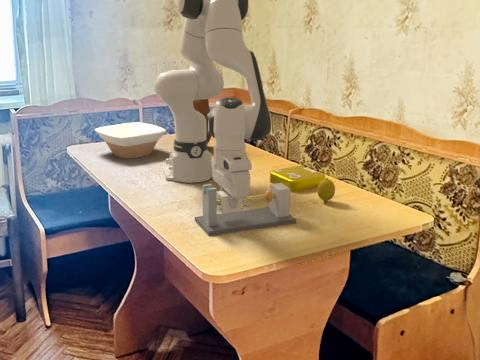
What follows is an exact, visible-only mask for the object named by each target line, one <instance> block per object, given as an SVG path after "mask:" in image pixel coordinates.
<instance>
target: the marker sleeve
mask: <svg viewBox="0 0 480 360" xmlns="http://www.w3.org/2000/svg"><path fill="white" fill-rule="evenodd" d="M216 191H217V200H221V205H217V211H219V212H220V213H231V212H238V211H243V204H242V200H243V198H242V199H239V200H238V206H237V208H234V209H232V208H231V207H230V201H231V198H232V197H231V194H230V193H229V192H227V191H226V190H225V191H221V190H216Z"/></svg>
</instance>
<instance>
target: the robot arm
mask: <svg viewBox="0 0 480 360" xmlns="http://www.w3.org/2000/svg"><path fill="white" fill-rule="evenodd" d="M177 7H178V12H179V13H180V14H181V16H182V17H183V18H184V22H183V26H182V33H181V39H180V43H179V44H180V45H179V46H180V47H179V50H180V51H179V52H180V53H181V55H182V57H183V58H185V60H187V61H188V62H190V65H189V68H185V69H183V68H182V69H172V70H168V71H167V70H166V71H165V72H161V73H160V74H158V76H157V77H156V78H155V79H156V80H155V83H154V91H155V94H156V95H157V97H158V99H159V100H160V101H162V102H163V103H164V104H165V105H167V107H168V108H169V109H170V112H171V113H172V114H171V115H172V117H173V121H174V134H175V135H174V137H175V139H174V141H173V150H172V151H171V153H170V154H169V156H168V157H169V158H165V164H166V166H164V167H163V173H164V176H165V180H166V181H174V182H180V183H201V182H206V181H208V180H210V179H211V178H212V180H213V181H214V182H215V183H217V184H218V185H219V191H225V190H226V191H227V192H229V193H230V194H231V197H232V198H231V201H230V207H231V208H232V209H234V208H237V206H238V200H239V199H242V198H247V197H248V196H250V190H251V189H250V188H251V187H250V186H251V173H250V171H251V170H252V162H251V160H250V159H249V157H248V154H247V151H246V147H247V146H246V142H245V140H252V141H253V140H254V141H262V140H263V139H265V138H267V136H268V135H269V134H271V130H272V125H273V124H272V123H273V122H272V117H271V114H270V110H269V107H268V103H267V100H266V95H265V90H264V86H263V82H262V78H261V77H262V76H261V73H260V69H259V64H258V61H257V57H256V55H255V53H254V52H253V51H251V50H249V48H248V47H247V45H246V43H245V41H244V37H243V34H244V33H243V32H244V31H243V24H242V23H243V22H242V21H243V20H244V19H245V18H246V16H247V14H248V11H249V0H177ZM214 63H216V64H218V65H219V66H222V67H224V68H227V69H230V70H232V71H234V72H237V73H239V74H240V75H242V76H243V77H244V78H245V81H246V84H247V89H248V95H249V97H250V99H249V100H250V102H251V103H250V105H245V104H244V101H242V99H239V98H237V97H222V98H220V99H218V100H217V101H216V102H215V106H214V107H212V109H210V112H209V113H208V114H207V116H208V131H207V132H208V133H209V134H210V135H211V138H213V139H215V140H214V144H213V159H212V153H211V152H210V151H208V147H209V143H208V141H207V138H206V119H205V117H204V115H203V114H201V113H200V112H198V111H196V110H195V109H194V106H193V100H203V99H208V100H209V99H211V98H215V97H217V96H219V95H221V94H222V91H223V89H224V85H225V84H224V82H225V81H224V78H223V76H222V73H221V72H220V71H219V70H218V69H217V68H216V67H215V64H214Z"/></svg>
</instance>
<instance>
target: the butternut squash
mask: <svg viewBox="0 0 480 360" xmlns="http://www.w3.org/2000/svg"><path fill="white" fill-rule="evenodd" d="M193 106H194V109H195V110H196V111H198V112H200V113H201V114H203V115H204V117H205V119H206V138H207V141H208V144H209V142H210V141H211V139H212V136H211V135H210V134H209V133H208V132H207V131H208V116H207V114H208V113H209V112H210V111H211V109H210V103H209V99H203V100H193Z"/></svg>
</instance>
